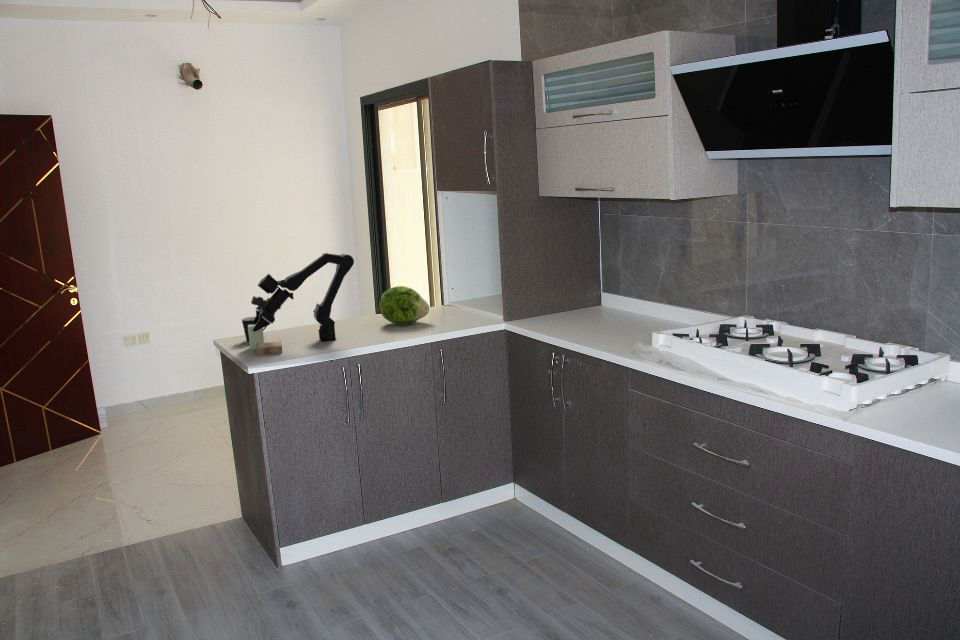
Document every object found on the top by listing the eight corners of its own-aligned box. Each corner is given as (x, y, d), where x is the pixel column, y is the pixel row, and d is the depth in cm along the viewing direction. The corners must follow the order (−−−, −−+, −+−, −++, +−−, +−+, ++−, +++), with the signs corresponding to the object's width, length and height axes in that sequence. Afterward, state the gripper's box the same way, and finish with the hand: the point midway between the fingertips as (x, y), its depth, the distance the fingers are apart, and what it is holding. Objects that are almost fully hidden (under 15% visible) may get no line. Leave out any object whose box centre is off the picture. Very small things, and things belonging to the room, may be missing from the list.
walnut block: (281, 349, 336) (281, 341, 336) (282, 354, 327) (281, 345, 326) (257, 351, 334) (256, 343, 333) (257, 356, 324) (256, 348, 324)
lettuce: (424, 329, 364) (428, 289, 362) (374, 323, 366) (378, 284, 365) (431, 326, 383) (435, 288, 382) (383, 321, 385) (387, 283, 384)
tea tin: (263, 346, 342) (260, 323, 340) (264, 348, 337) (262, 325, 335) (250, 347, 340) (247, 324, 338) (251, 350, 335) (248, 327, 333)
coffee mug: (245, 343, 349) (243, 321, 347) (242, 340, 356) (240, 318, 354) (272, 340, 353) (270, 318, 351) (269, 336, 361) (267, 315, 359)
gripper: (259, 286, 344) (235, 314, 342) (264, 291, 327) (238, 321, 325) (279, 302, 348) (255, 329, 346) (285, 308, 331) (260, 337, 329)
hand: (252, 329), depth 337 cm, fingers open, 9 cm apart
